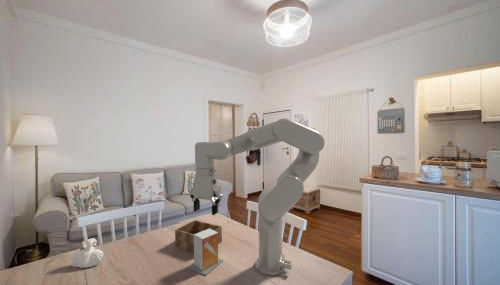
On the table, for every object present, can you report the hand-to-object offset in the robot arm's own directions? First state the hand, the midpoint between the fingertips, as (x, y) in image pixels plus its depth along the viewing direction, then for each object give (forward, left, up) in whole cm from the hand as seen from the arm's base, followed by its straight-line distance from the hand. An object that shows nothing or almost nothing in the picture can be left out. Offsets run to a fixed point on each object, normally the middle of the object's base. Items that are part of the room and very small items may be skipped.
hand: (205, 212), depth 90 cm
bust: (+45, +23, -23) cm, 55 cm away
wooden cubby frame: (+15, -12, -22) cm, 29 cm away
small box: (0, 0, -22) cm, 22 cm away
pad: (0, 0, -22) cm, 22 cm away
